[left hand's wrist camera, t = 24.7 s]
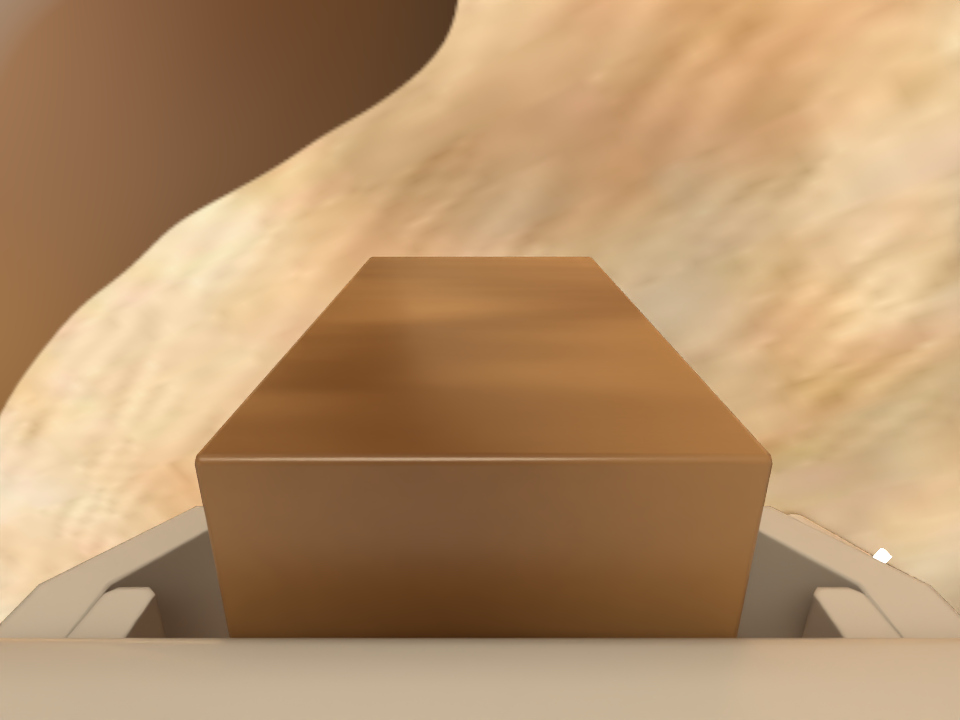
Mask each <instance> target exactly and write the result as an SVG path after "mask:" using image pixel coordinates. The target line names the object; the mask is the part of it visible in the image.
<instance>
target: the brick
mask: <svg viewBox="0 0 960 720" xmlns="http://www.w3.org/2000/svg"><path fill="white" fill-rule="evenodd" d="M195 468H196V473H197V478H198V483H199V488H200V493H201V498H202V503H203V508H204V513H205V517H206V522H207V527H208V532H209V537H210V542H211V547H212V552H213V557H214V562H215V567H216V572H217V577H218V582H219V587H220V592H221V597H222V602H223V607H224V612H225V617H226V622H227V627H228V632H229V637H230V638H737V634H738V629H739V624H740V619H741V614H742V609H743V604H744V600H745V595H746V590H747V585H748V580H749V575H750V570H751V565H752V561H753V556H754V551H755V546H756V541H757V536H758V531H759V526H760V521H761V517H762V512H763V507H764V502H765V497H766V492H767V487H768V482H769V478H770V473H771V468H772V459H771V455H770V454H769V453H768V452H767V451H766V449H765V448H764V447H763V446H762V445H761V444H760V443H759V442H758V441H757V440H756V438H755V437H754V436H753V435H752V434H751V433H750V432H749V431H748V430H747V429H746V427H745V426H744V425H743V424H742V423H741V422H740V421H739V420H738V419H737V418H736V416H735V415H734V414H733V413H732V412H731V411H730V410H729V409H728V408H727V406H726V405H725V404H724V403H723V402H722V401H721V400H720V399H719V398H718V397H717V395H716V394H715V393H714V392H713V391H712V390H711V389H710V388H709V387H708V386H707V384H706V383H705V382H704V381H703V380H702V379H701V378H700V377H699V376H698V375H697V373H696V372H695V371H694V370H693V369H692V368H691V367H690V366H689V365H688V364H687V362H686V361H685V360H684V359H683V358H682V357H681V356H680V355H679V354H678V353H677V351H676V350H675V349H674V348H673V347H672V346H671V345H670V344H669V343H668V341H667V340H666V339H665V338H664V337H663V336H662V335H661V334H660V333H659V332H658V330H657V329H656V328H655V327H654V326H653V325H652V324H651V323H650V322H649V321H648V319H647V318H646V317H645V316H644V315H643V314H642V313H641V312H640V311H639V310H638V308H637V307H636V306H635V305H634V304H633V303H632V302H631V301H630V300H629V299H628V297H627V296H626V295H625V294H624V293H623V292H622V291H621V290H620V289H619V287H618V286H617V285H616V284H615V283H614V282H613V281H612V280H611V279H610V278H609V276H608V275H607V274H606V273H605V272H604V271H603V270H602V269H601V268H600V267H599V265H598V264H597V263H596V262H595V261H594V260H593V259H592V258H591V257H371V258H370V259H369V260H368V261H367V262H366V263H365V264H364V266H363V267H362V268H361V269H360V270H359V271H358V272H357V274H356V275H355V276H354V277H353V278H352V279H351V280H350V281H349V283H348V284H347V285H346V286H345V287H344V288H343V289H342V291H341V292H340V293H339V294H338V295H337V296H336V297H335V299H334V300H333V301H332V302H331V303H330V304H329V305H328V307H327V308H326V309H325V310H324V311H323V312H322V313H321V314H320V316H319V317H318V318H317V319H316V320H315V321H314V322H313V324H312V325H311V326H310V327H309V328H308V329H307V330H306V332H305V333H304V334H303V335H302V336H301V337H300V338H299V340H298V341H297V342H296V343H295V344H294V345H293V346H292V347H291V349H290V350H289V351H288V352H287V353H286V354H285V355H284V357H283V358H282V359H281V360H280V361H279V362H278V363H277V365H276V366H275V367H274V368H273V369H272V370H271V371H270V373H269V374H268V375H267V376H266V377H265V378H264V379H263V380H262V382H261V383H260V384H259V385H258V386H257V387H256V388H255V390H254V391H253V392H252V393H251V394H250V395H249V396H248V398H247V399H246V400H245V401H244V402H243V403H242V404H241V406H240V407H239V408H238V409H237V410H236V411H235V412H234V413H233V415H232V416H231V417H230V418H229V419H228V420H227V421H226V423H225V424H224V425H223V426H222V427H221V428H220V429H219V431H218V432H217V433H216V434H215V435H214V436H213V437H212V439H211V440H210V441H209V442H208V443H207V444H206V445H205V446H204V448H203V449H202V450H201V451H200V452H199V453H198V454H197V456H196V460H195Z"/></svg>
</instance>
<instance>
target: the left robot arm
mask: <svg viewBox="0 0 960 720" xmlns="http://www.w3.org/2000/svg"><path fill="white" fill-rule="evenodd" d="M890 558H891V556H890V555H889V554H888V552H887V551H886V550H884V549H882V548H881V549H880V550H879V551H878V552H877V553H876V554H875V555H874V556H872V555H870V554H869V553H867V552H865V551H863V550H862V549H860V548H858V547H856V546H855V545H853V544H851V543H849V542H848V541H846V540H844V539H842V538H840V537H839V536H837V535H835V534H833V533H832V532H830V531H828V530H826V529H825V528H823V527H821V526H819V525H818V524H816V523H814V522H812V521H811V520H809V519H807V518H805V517H803V516H801V515H798V514H788V515H787V514H785V513H783V512H781V511H779V510H777V509H775V508H773V507H771V506H764V507H763V512H762V517H761V521H760V526H759V531H758V536H757V541H756V546H755V551H754V556H753V561H752V565H751V570H750V575H749V580H748V585H747V590H746V595H745V600H744V604H743V609H742V614H741V619H740V624H739V629H738V634H737V638H230V637H229V632H228V627H227V622H226V617H225V612H224V607H223V602H222V597H221V592H220V587H219V582H218V577H217V572H216V567H215V562H214V557H213V552H212V547H211V542H210V537H209V532H208V527H207V522H206V517H205V513H204V508H203V506H196V507H194V508H192V509H190V510H188V511H186V512H184V513H182V514H180V515H178V516H176V517H174V518H172V519H170V520H168V521H166V522H164V523H162V524H160V525H158V526H156V527H154V528H152V529H150V530H148V531H146V532H144V533H142V534H140V535H138V536H136V537H134V538H131V539H129V540H127V541H125V542H123V543H121V544H119V545H117V546H115V547H113V548H111V549H109V550H107V551H105V552H103V553H101V554H99V555H97V556H95V557H93V558H91V559H89V560H87V561H85V562H83V563H81V564H79V565H77V566H75V567H73V568H71V569H69V570H67V571H65V572H63V573H61V574H59V575H57V576H55V577H53V578H51V579H49V580H47V581H45V582H43V583H41V584H39V585H38V586H37V587H36V588H35V589H34V590H33V591H32V592H31V593H30V594H29V595H28V596H27V597H26V598H25V599H24V600H23V601H22V602H21V603H20V604H19V605H18V606H17V607H16V608H15V609H14V610H13V611H12V612H11V613H10V614H9V615H8V616H7V617H6V618H5V619H4V621H3V622H2V623H1V624H0V720H960V615H959V614H958V613H957V612H956V611H955V610H954V609H953V608H952V607H951V606H950V605H949V604H948V603H947V602H946V601H945V600H944V599H943V598H942V597H941V596H940V595H939V594H938V593H937V592H936V591H935V590H934V589H933V588H932V587H931V586H930V585H928V584H926V583H924V582H922V581H920V580H918V579H916V578H914V577H912V576H910V575H908V574H906V573H904V572H902V571H900V570H898V569H896V568H894V567H892V566H890V565H888V564H886V562H887V561H888V560H889V559H890Z"/></svg>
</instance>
